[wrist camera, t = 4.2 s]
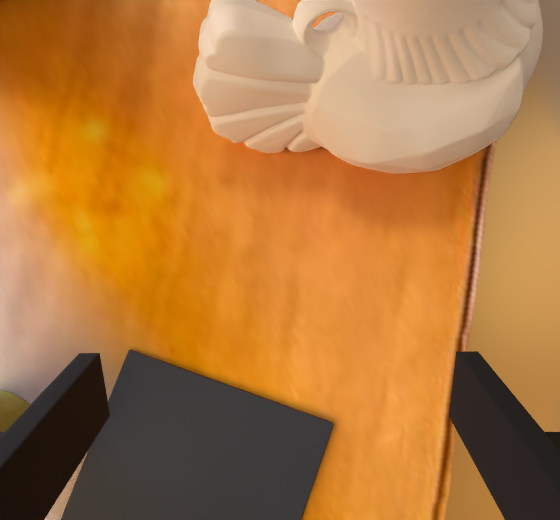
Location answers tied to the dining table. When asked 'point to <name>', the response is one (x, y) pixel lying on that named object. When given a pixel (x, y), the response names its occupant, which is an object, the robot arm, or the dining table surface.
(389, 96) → the decorative rooster
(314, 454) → the placemat
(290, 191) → the dining table surface
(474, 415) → the robot arm
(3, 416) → the plant pot
